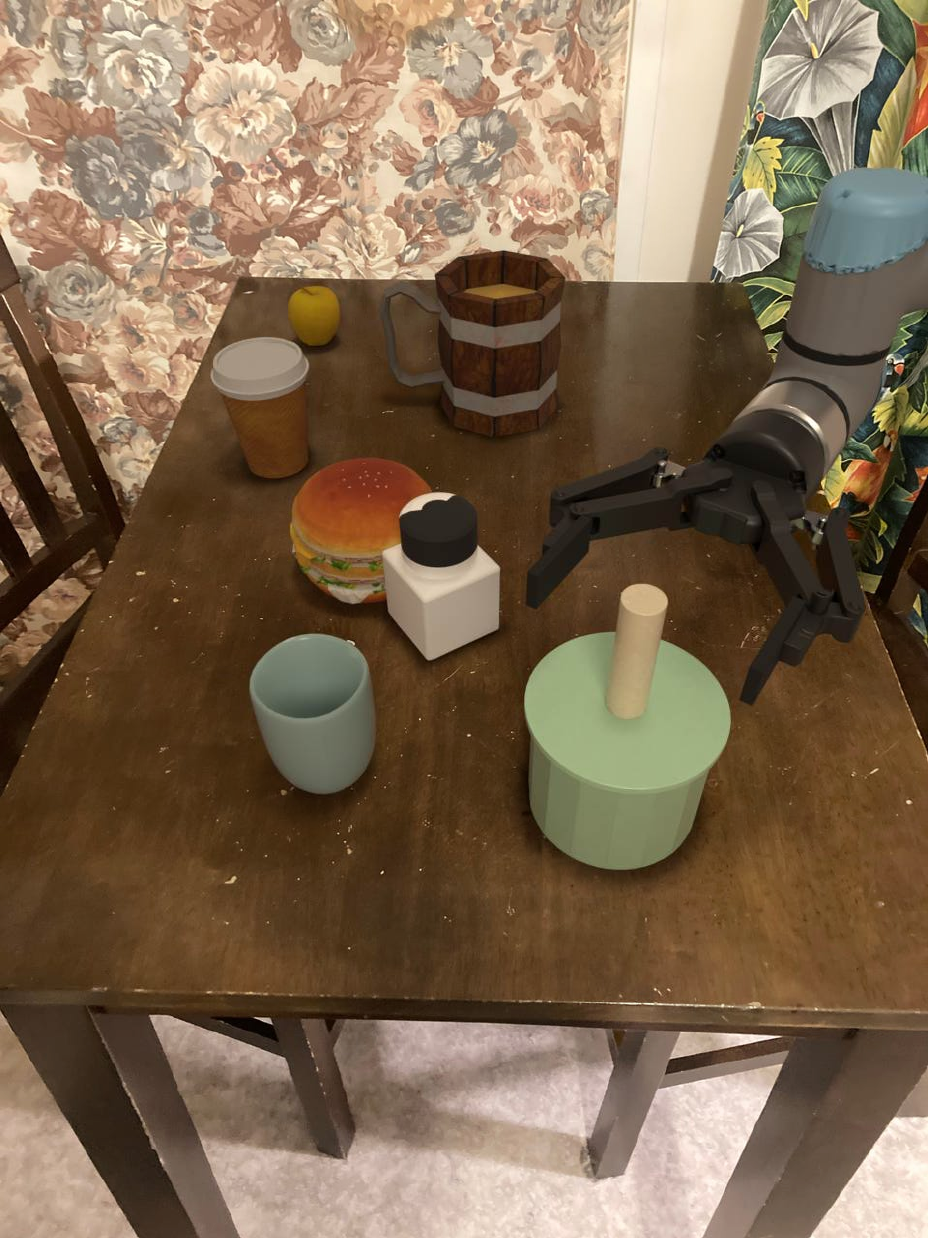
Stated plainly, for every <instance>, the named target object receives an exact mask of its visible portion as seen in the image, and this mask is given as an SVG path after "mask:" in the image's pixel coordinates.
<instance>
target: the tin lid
mask: <svg viewBox="0 0 928 1238" xmlns="http://www.w3.org/2000/svg"><path fill="white" fill-rule="evenodd" d="M668 605H669V599H668V596H667V595H666V593H665V592H664V591H663V590H662V589H661V588H659V587H657V586H656V585H655V586H654V585H653V584H649V583H635V584H632V585H628V586H627V587H626V588H625V589H623V591H622V592H621V593H620V598H619V604H618V611H617V618H616V625H615V631H604V632H603V631H602V632H596V633H589V634H586V635H582V636H578V637H575V638H573V639H570V640H568V641H566V642H564V643H562V644H560V645H558V646H557V647H555V648H553V650H551V651H550V652H548V653H547V654H546V655H545V656H544V657H543V658H542V659H541V660H540V661H539V662H538V663H537V665H536V666H535V667H534V669H533V670H532V672H531V674H530V675H529V677H528V680H527V683H526V685H525V691H524V695H523V696H524V697H523V713H524V721H525V724H526V726H527V729H528V732H529V734H530V737H531V736H532V738H533V740H534V742H535V743H536V745H537V746H538V748H539V749H540V750H541V752H542V753H543V754H544V755H545V756H546V757H547V758H548V759H549V760H550V761H551V762H552V763H553V764H554V765H555V766H557V767H558V768H559V769H560V770H562V771H563V772H565V773H566V774H568V775H569V776H571V777H573V778H575V779H577V780H579V781H581V782H583V783H585V784H587V785H590V786H593V787H595V788H598V789H602V790H606V791H610V792H615V793H622V794H637V795H642V794H655V793H661V792H666V791H670V790H673V789H676V788H679V787H682V786H684V785H686V784H688V783H691V782H693V781H694V780H696V779H697V778H699V777H700V776H702V775H703V774H705V773H706V772H707V771H708V770H709V771H710V769H712V767H714V765H715V764H716V762H717V761H718V760H719V759H720V757H721V756H722V754H723V752H724V750H725V748H726V745H727V742H728V739H729V736H730V731H731V726H732V725H731V724H732V720H731V709H730V703H729V701H728V698H727V696H726V692H725V691H724V689H723V687H722V685H721V683H720V682H719V680H718V679H717V678H716V677H715V675H714V673H712V671H711V670H710V669H709V668H708V667H707V666H706V665H705V664H704V663H703V662H701V661H700V660H699V659H698V658H697V657H695V656H694V655H692V654H691V653H689V652H688V651H687V650H685V649H683V648H681V647H679V646H677V645H675V644H674V643H671V642H668V641H666V640H663V639H662V634H663V629H664V625H665V620H666V615H667V610H668Z"/></svg>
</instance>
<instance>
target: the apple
mask: <svg viewBox="0 0 928 1238" xmlns="http://www.w3.org/2000/svg"><path fill="white" fill-rule="evenodd" d="M299 288H300V289H298V290H296V291H294V293H293V294H292V295H291V297H290V298H289V300H288V305H287V316H288V320H289V324H290V326H291V327H292V329H293V331H294V332H295V334H296V335H297V338H298V339H299V340H300V341H301V342H302V343H303V344H306V345H308V346H309V347H317V346H321V347H322V346H326V345H327V344H329V342H330V341H331V340H332V339H333V337H334V336H335V334H336V333H337V330H338V328H339V326H340V321H341V308H340V303H339V300H338V297H337V295H336V294H335V293H334V292H333V291H332V290H331V289H330V288H329V287H326V286H322V285H310V286H305V287H303V286H301V285H299Z"/></svg>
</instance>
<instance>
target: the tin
mask: <svg viewBox="0 0 928 1238" xmlns="http://www.w3.org/2000/svg"><path fill="white" fill-rule="evenodd" d="M529 745H530V746H529V760H528V761H529V763H528V779H527V780H528V799H529V806H530V809H531V813H532V816H533V818H534V820H535V822H536V824H537V826H538V828H539V829H540V830H541V832H542V833H543V835H544V836H545V837H546V838H547V839H548V841H549V842H551V843H552V844H553V845H554V846H555V847H556V848H557V849H558V850H560V851H561V852H563V853H564V854H565V855H566V856H569V857H571V858H572V859H574V860H576V861H578V862H581V863H583V864H586V865H589V866H592V867H595V868H601V869H606V870H618V871H625V870H627V871H628V870H636V869H640V868H641V869H642V868H645V867H649V866H651V865H654V864H656V863H658V862H660V861H662V860H664V859H666V858H667V857H669V856H670V855H672V854H673V853H674V852H675V851H676V850H678V848H680V846H681V845H682V844H683V843H684V841H685V840H686V838H687V836H688V835H689V834H690V833H691V830H692V828H693V824H694V821H695V818H696V815H697V811H698V808H699V804H700V801H701V798H702V794H703V791H704V789H705V788H704V787H705V785H706V782H707V778H708V775H709V771H710V769H709V770H708V771H707V772H706V773H705V774H703V775H702V776H700V777H699V778H697V779H696V780H694V781H693V782H691V783H688V784H686V785H684V786H682V787H679V788H676V789H673V790H670V791H666V792H661V793H655V794H642V795H637V794H622V793H615V792H610V791H606V790H602V789H598V788H595V787H593V786H590V785H587V784H585V783H583V782H581V781H579V780H577V779H575V778H573V777H571V776H569V775H568V774H566V773H565V772H563V771H562V770H560V769H559V768H558V767H557V766H555V765H554V764H553V763H552V762H551V761H550V760H549V759H548V758H547V757H546V756H545V755H544V754H543V753H542V752H541V750H540V749H539V748H538V746H537V745H536V743H535V742H534V740H533V738H532V736H531V735H530V743H529Z"/></svg>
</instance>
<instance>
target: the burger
mask: <svg viewBox="0 0 928 1238" xmlns="http://www.w3.org/2000/svg"><path fill="white" fill-rule="evenodd" d="M429 493H433V490H432V488H431V487H430V485H429V484H428V483H427V482H426V481H425V480H424V479H423V478H422V477H421V476H420V475H419V474H418V473H417V472H416V471H415V470H413V469H412V468H410V467H408V466H407V465H404V464H403V463H400V462H397V461H394V460H391V459H385V458H380V457H360V458H350V459H345V460H342V461H339V462H335V463H332V464H330V465H328V466H326V467H324V468H322V469H321V470H319V471H317V472H316V473H314V474H313V475H312V476H310V477H309V478H308V479H307V480H306V481H305V483H304V484H303V485H302V487H301V488H300V490H299V491H298V493H297V494H296V495H295V496H294V500H293V504H292V506H291V522H290V524H289V528H290V529H289V533H290V539H291V541H292V543H293V544H292V549H291V550H292V551H291V553H292V554H293V555H294V557H295V559H296V560H297V564H298V566H299V568H300V570H301V572H302V573H303V574H305V575H306V576H307V579H309V580H310V581H311V583H313V584H314V585H315V586H316V587H317V588H318V589H319V590H321V591H322V592H323V593H325V594H326V595H327V596H329V597H332V598H334V599H337V600H339V602H343V603H348V604H351V605H354V604H372V603H375V604H376V603H381V602H385V601H387V596H386V587H385V578H384V569H383V559H382V552H383V551H384V550H386V549H388V548H391V547H393V546H396V545H398V544H401V536H400V524H399V516H400V513H401V511H402V509H403V508H404V507H405V506H406V505H407V504H408V503H409V502H410V501H411V500H413V499H415V498H417V497H419V496H421V495H424V494H429Z"/></svg>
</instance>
